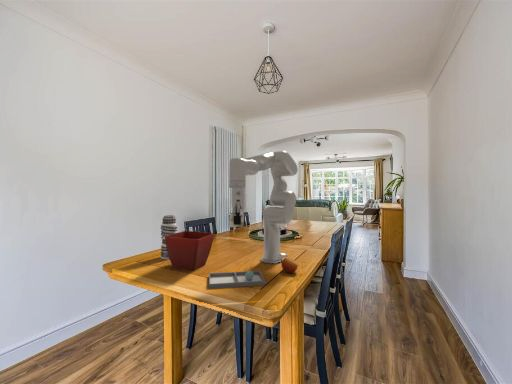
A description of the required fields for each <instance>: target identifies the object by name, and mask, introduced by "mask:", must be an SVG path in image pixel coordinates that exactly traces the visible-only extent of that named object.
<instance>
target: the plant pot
mask: <svg viewBox="0 0 512 384" xmlns="http://www.w3.org/2000/svg"><path fill="white" fill-rule="evenodd" d="M214 237H215V233H213V232H202V231H191V230H183V231H180V232H175V234H171V235H168V236H165V242H166V247H167V252H168V255H169V259H168V260H169V262H170V264H171V266H172V268H173V269H177V270H186V271H187V270H188V271H195V270H198V269H199V268H201V267H203V266H204V265H206V263H207V261H208V258H209V256H210V253H211V250H212V246H213V242H214Z"/></svg>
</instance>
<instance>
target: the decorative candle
mask: <svg viewBox="0 0 512 384" xmlns="http://www.w3.org/2000/svg"><path fill="white" fill-rule="evenodd" d="M177 229H178V227H177V217H176V216H175V215H174V214H173V215H172V214H171V215H170V214H169V215H166V214H165V215H164V216H163V217H162V223H161V225H160V230H161V231H160V236H161V245H160V248H161V249H160V250H161V251H160V256H161V257H160V259H161V260H170V259H169V255H168V252H167V247H166V242H165V236H168V235H171V234H175V233H176V232H178V230H177Z"/></svg>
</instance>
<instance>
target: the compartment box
mask: <svg viewBox="0 0 512 384" xmlns="http://www.w3.org/2000/svg"><path fill="white" fill-rule="evenodd" d="M247 271H248V270H247ZM247 271H229V272H227V271H225V272H209V273H208V289H219V288H220V289H221V288H222V289H223V288H237V287H238V288H240V287H255V286H266V285H267V282H266V279H265V277H264V276H263V274H262V272H261V271H260V270H253V271H252V270H251V271H252V272H253V274H254V277H253V279H252V280H247V279H246V278H245V273H246V272H247Z"/></svg>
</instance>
